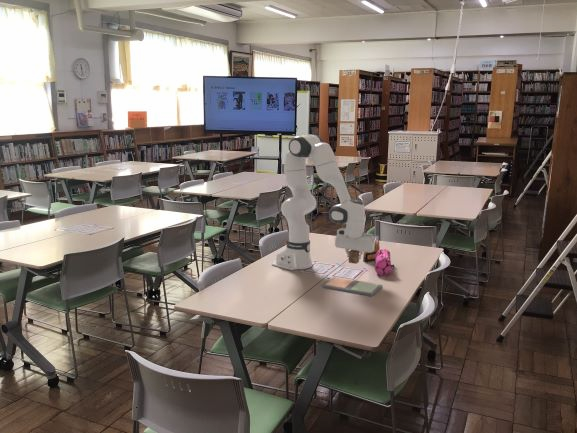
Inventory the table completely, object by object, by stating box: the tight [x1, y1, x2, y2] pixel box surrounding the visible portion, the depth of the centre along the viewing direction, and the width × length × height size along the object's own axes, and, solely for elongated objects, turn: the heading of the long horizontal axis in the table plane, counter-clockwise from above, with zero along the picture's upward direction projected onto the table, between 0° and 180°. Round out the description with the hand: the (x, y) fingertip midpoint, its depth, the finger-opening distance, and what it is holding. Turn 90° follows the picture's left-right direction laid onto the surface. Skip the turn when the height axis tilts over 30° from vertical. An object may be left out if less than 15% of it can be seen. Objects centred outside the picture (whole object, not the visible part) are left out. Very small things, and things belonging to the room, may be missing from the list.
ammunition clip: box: [362, 238, 381, 263], centre depth 274 cm, size 11×2×12 cm, turn 119°
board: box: [322, 276, 383, 297], centre depth 234 cm, size 25×14×1 cm, turn 61°
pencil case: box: [374, 248, 395, 276], centre depth 258 cm, size 21×10×10 cm, turn 173°
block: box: [348, 249, 360, 265], centre depth 246 cm, size 4×4×6 cm
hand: (354, 258), depth 246 cm, fingers closed on block, 4 cm apart
